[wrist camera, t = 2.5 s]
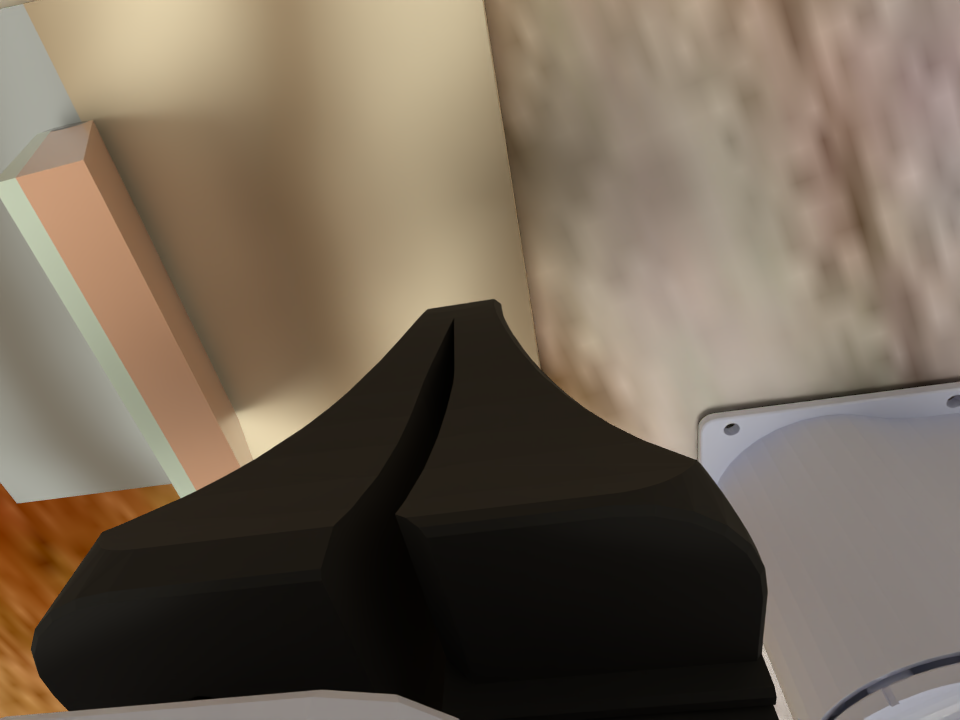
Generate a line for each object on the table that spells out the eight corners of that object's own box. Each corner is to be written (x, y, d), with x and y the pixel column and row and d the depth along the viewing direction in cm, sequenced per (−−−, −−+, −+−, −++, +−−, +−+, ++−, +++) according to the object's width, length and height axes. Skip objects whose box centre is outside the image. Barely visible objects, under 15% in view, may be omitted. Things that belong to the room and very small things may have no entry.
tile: (84, 159, 9) (-9, 183, 9) (291, 565, 14) (237, 592, 13) (93, 118, 15) (39, 131, 15) (236, 411, 20) (197, 427, 19)
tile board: (470, -92, 14) (467, -98, 13) (546, 407, 21) (550, 434, 20) (-254, 73, 16) (-320, 82, 15) (43, 474, 23) (17, 503, 22)
